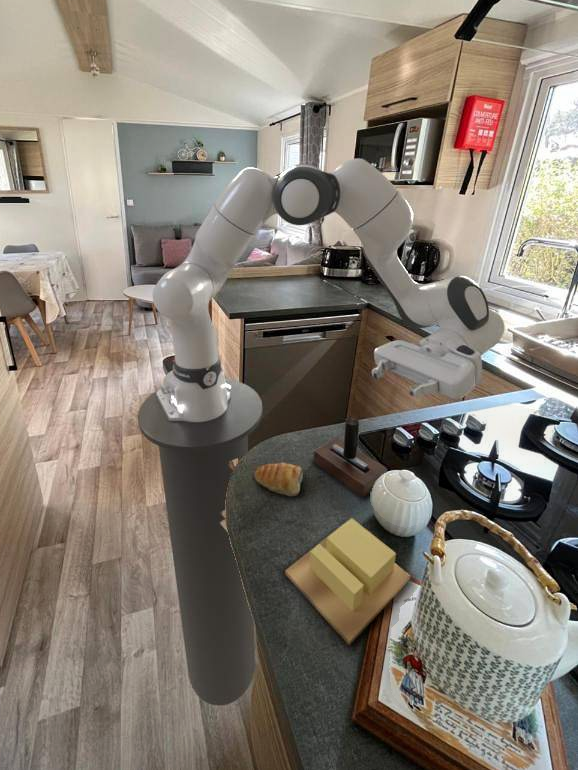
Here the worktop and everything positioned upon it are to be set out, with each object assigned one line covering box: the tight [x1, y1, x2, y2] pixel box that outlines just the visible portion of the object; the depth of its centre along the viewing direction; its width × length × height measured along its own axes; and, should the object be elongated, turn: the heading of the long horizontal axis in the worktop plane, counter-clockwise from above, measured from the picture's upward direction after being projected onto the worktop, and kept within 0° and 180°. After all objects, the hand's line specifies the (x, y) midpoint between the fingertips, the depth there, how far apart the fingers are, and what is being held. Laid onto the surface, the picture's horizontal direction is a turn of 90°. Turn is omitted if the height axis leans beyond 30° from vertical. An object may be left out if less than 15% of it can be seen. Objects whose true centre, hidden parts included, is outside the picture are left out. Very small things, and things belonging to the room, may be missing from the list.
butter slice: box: [309, 543, 364, 612], centre depth 55 cm, size 8×2×4 cm, turn 37°
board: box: [284, 522, 411, 646], centre depth 57 cm, size 12×14×1 cm
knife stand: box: [313, 436, 388, 499], centre depth 77 cm, size 12×7×3 cm, turn 37°
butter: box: [326, 517, 397, 595], centre depth 58 cm, size 8×6×4 cm
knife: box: [332, 417, 368, 473], centre depth 75 cm, size 8×2×12 cm, turn 37°
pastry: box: [253, 461, 304, 497], centre depth 75 cm, size 9×7×4 cm
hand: (392, 383), depth 74 cm, fingers open, 8 cm apart
